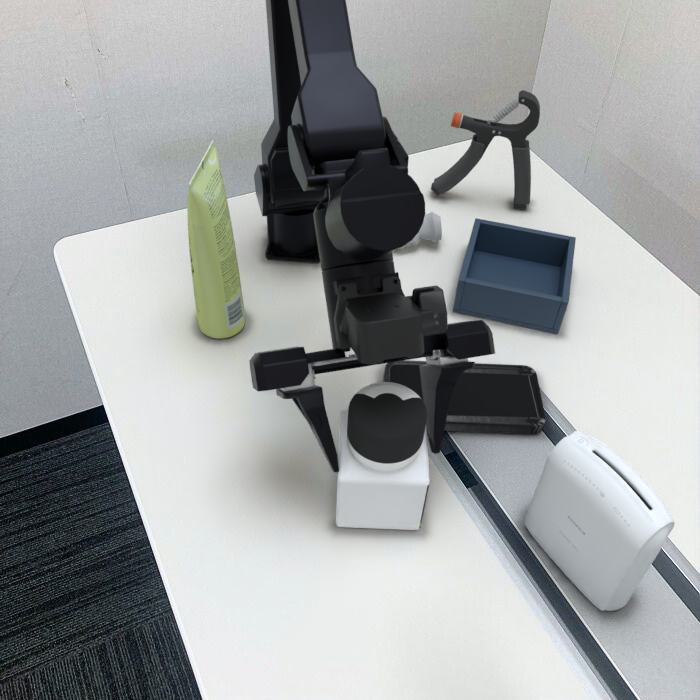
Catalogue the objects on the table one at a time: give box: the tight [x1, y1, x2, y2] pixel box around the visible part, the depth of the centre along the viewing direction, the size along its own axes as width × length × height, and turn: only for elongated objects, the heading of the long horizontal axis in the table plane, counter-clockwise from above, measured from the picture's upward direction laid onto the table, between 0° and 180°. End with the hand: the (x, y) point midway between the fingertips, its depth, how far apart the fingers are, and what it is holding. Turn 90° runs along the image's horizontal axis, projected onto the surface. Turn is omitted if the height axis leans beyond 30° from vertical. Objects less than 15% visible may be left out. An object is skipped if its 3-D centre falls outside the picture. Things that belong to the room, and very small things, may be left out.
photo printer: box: [524, 430, 676, 612], centre depth 57 cm, size 10×4×12 cm, turn 32°
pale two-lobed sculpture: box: [398, 211, 443, 250], centre depth 89 cm, size 4×8×5 cm
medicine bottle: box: [335, 381, 431, 531], centre depth 61 cm, size 7×7×12 cm
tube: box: [186, 139, 246, 339], centre depth 73 cm, size 6×5×20 cm
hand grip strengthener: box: [430, 90, 541, 210], centre depth 91 cm, size 2×12×15 cm, turn 79°
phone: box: [383, 360, 546, 435], centre depth 73 cm, size 8×1×15 cm
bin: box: [452, 217, 577, 335], centre depth 83 cm, size 11×11×5 cm
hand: (386, 462), depth 60 cm, fingers closed on medicine bottle, 8 cm apart
